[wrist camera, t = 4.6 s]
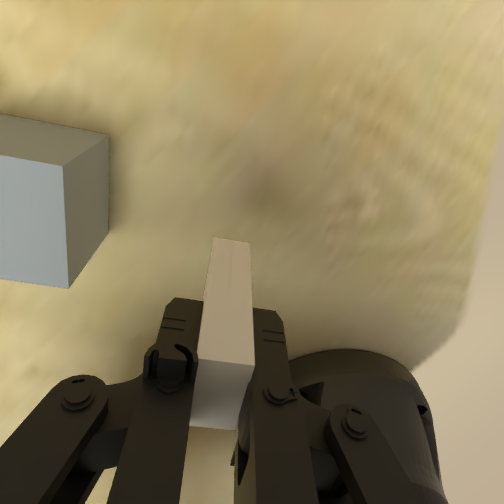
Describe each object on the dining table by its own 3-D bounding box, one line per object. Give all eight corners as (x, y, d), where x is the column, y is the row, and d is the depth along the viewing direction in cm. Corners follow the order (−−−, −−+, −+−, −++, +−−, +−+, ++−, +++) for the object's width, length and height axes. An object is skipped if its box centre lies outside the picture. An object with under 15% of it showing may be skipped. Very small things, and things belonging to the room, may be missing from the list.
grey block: (109, 134, 20) (62, 166, 14) (108, 232, 22) (68, 288, 17) (-9, 111, 19) (-105, 135, 14) (5, 215, 22) (-70, 269, 16)
